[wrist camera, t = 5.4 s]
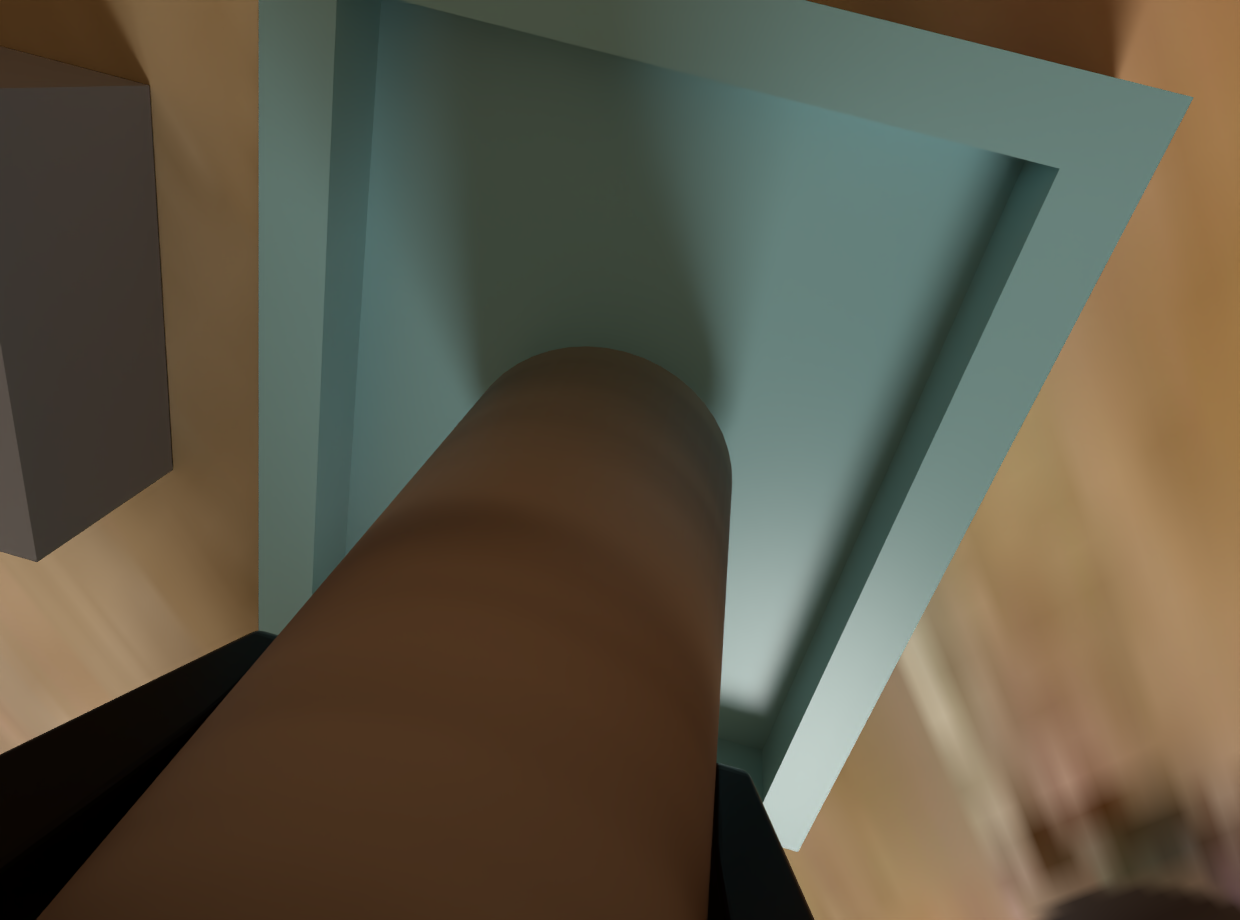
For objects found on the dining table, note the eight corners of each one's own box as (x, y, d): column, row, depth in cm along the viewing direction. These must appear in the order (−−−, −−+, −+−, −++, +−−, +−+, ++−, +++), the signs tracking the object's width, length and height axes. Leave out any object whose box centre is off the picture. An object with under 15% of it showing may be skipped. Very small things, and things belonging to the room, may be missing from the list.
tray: (793, 765, 20) (798, 851, 18) (312, 627, 20) (258, 694, 18) (1115, 92, 12) (1193, 97, 10) (343, -101, 13) (258, -137, 11)
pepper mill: (690, 618, 15) (576, 1576, 6) (448, 550, 15) (-75, 1358, 6) (769, 391, 13) (808, 1349, 3) (482, 313, 13) (-303, 1000, 3)
